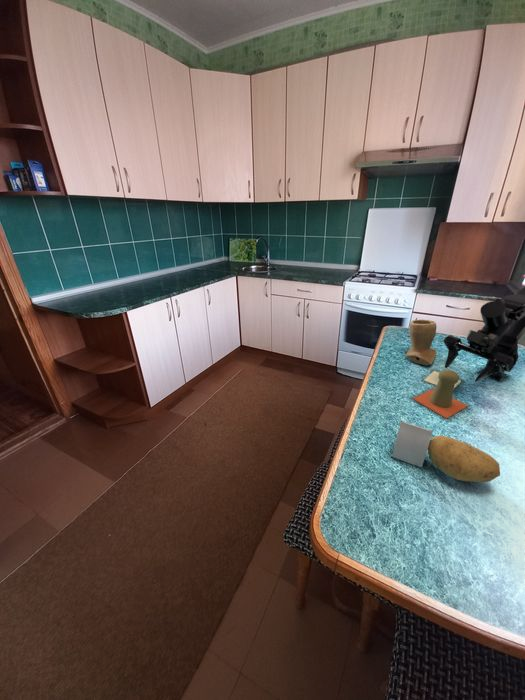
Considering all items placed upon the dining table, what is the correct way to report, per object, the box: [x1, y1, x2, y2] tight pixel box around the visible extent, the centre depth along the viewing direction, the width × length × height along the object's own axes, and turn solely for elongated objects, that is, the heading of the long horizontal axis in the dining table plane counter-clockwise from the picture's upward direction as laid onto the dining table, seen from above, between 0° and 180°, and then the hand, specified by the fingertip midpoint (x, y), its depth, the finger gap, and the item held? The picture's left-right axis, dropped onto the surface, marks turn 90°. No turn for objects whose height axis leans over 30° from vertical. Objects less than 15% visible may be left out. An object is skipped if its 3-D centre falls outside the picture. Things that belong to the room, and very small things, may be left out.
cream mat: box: [423, 370, 462, 390], centre depth 102 cm, size 9×9×1 cm
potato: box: [427, 434, 501, 483], centre depth 66 cm, size 10×14×8 cm
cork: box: [430, 369, 460, 408], centre depth 88 cm, size 6×6×11 cm
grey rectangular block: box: [391, 420, 433, 468], centre depth 70 cm, size 4×7×10 cm, turn 59°
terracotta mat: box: [412, 387, 468, 420], centre depth 91 cm, size 11×11×1 cm
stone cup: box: [405, 319, 438, 366], centre depth 114 cm, size 15×12×15 cm
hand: (459, 374), depth 90 cm, fingers open, 9 cm apart
